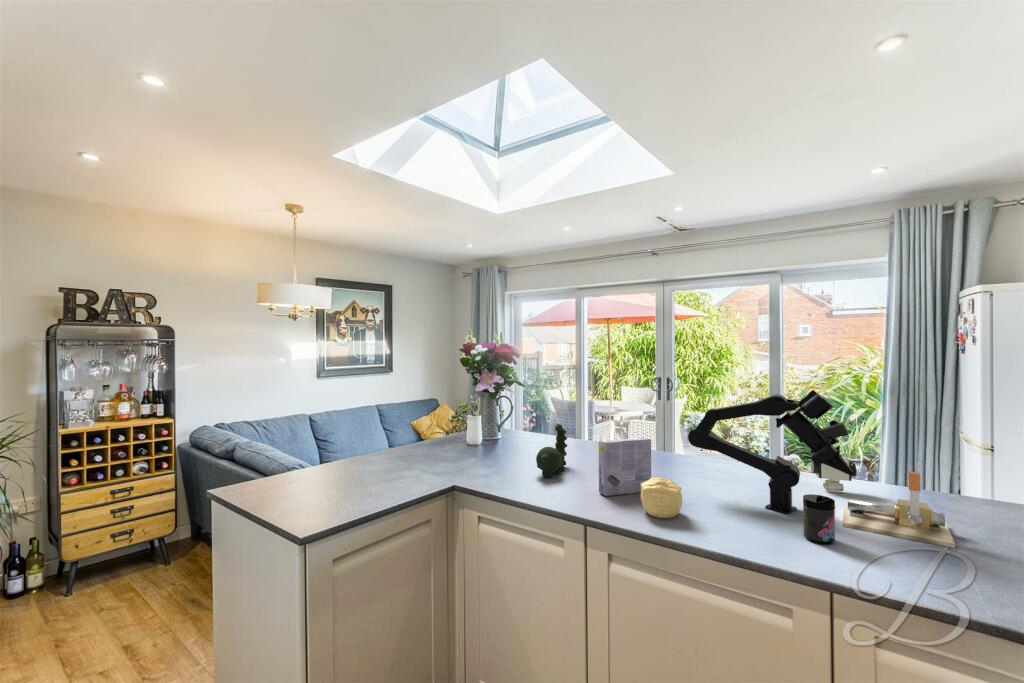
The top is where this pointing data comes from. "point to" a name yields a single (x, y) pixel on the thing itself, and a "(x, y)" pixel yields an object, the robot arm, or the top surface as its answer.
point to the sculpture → (661, 497)
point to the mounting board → (897, 529)
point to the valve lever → (914, 498)
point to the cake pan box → (624, 465)
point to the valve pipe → (898, 513)
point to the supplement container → (819, 519)
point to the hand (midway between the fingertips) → (851, 474)
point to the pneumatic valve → (833, 476)
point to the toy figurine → (553, 455)
